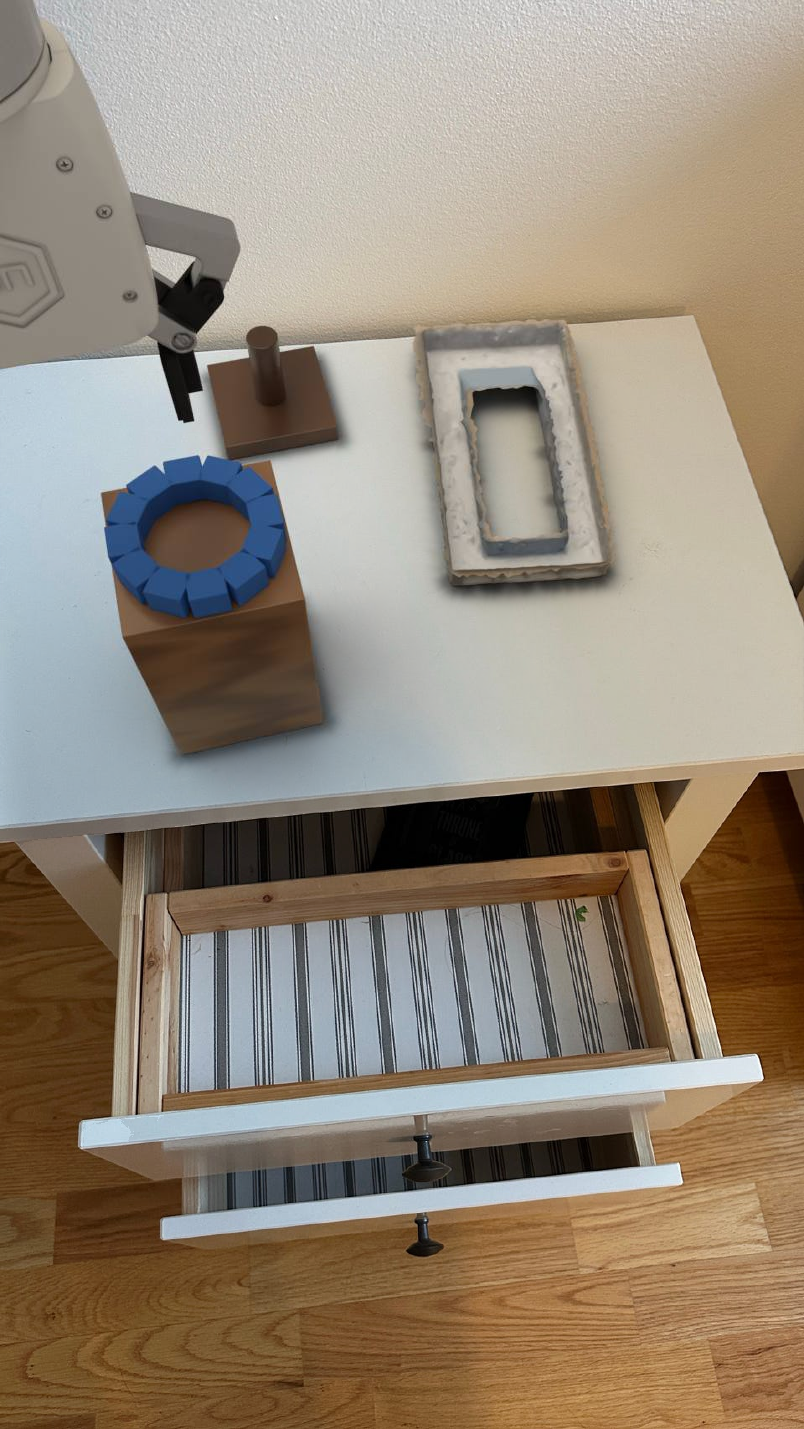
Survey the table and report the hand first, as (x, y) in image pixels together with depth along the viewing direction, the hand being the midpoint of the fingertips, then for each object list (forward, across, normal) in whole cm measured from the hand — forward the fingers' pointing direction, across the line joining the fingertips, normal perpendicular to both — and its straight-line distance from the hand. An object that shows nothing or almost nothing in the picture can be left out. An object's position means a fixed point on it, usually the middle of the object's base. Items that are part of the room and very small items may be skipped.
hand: (79, 420), depth 45 cm
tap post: (+27, +10, +24) cm, 37 cm away
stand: (+27, +3, 0) cm, 27 cm away
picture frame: (+27, +27, +14) cm, 41 cm away
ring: (+11, +4, 0) cm, 11 cm away
